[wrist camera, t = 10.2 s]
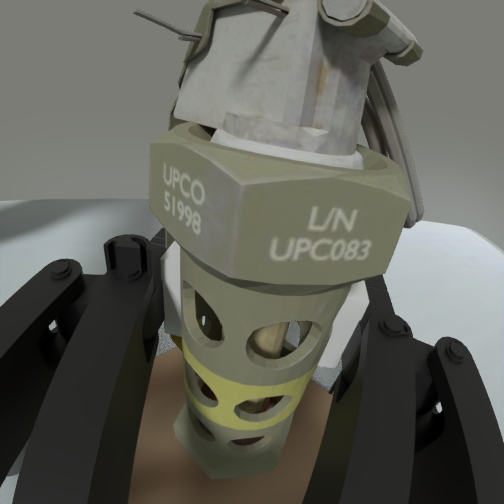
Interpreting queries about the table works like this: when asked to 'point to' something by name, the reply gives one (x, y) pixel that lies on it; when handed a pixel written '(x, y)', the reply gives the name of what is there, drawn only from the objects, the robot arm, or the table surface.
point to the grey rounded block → (18, 462)
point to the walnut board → (189, 472)
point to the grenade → (276, 205)
